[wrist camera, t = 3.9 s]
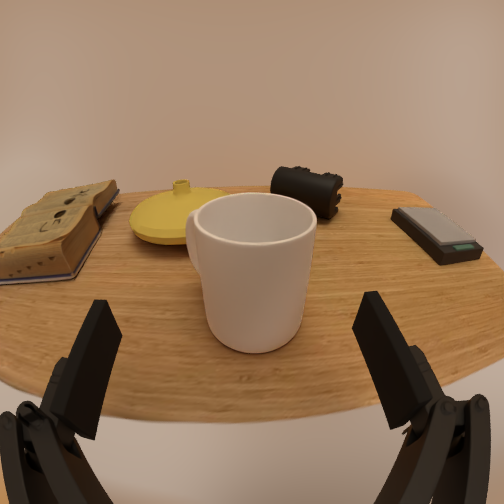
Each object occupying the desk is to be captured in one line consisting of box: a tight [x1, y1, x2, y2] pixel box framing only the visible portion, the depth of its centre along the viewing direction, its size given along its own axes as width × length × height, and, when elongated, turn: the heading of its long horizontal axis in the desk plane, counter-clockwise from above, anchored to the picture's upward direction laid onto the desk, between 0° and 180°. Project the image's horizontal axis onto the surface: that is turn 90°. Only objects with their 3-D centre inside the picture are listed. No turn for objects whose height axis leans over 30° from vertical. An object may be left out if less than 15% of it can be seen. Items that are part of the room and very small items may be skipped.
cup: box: [186, 193, 317, 353], centre depth 22 cm, size 8×12×10 cm
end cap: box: [270, 166, 343, 219], centre depth 42 cm, size 10×7×7 cm
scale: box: [391, 207, 483, 265], centre depth 36 cm, size 14×11×3 cm
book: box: [0, 180, 120, 284], centre depth 35 cm, size 25×17×6 cm
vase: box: [129, 180, 230, 245], centre depth 36 cm, size 16×16×7 cm
